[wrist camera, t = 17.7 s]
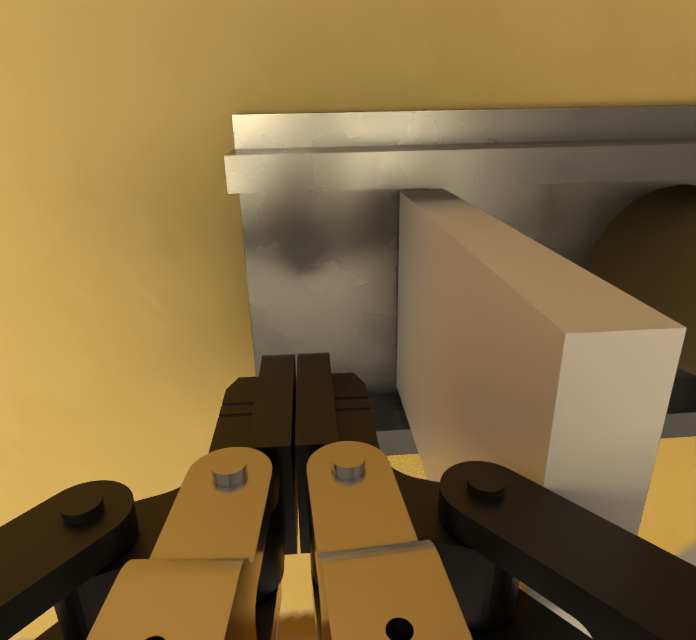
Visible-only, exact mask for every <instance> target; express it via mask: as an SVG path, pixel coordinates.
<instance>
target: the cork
mask: <svg viewBox="0 0 696 640" xmlns="http://www.w3.org/2000/svg"><path fill="white" fill-rule="evenodd" d="M586 270H587V271H589V272H590V273H592V274H594V275H596V276H597V277H599V278H601V279H603V280H604V281H606V282H608V283H610V284H611V285H613V286H615V287H617V288H618V289H620V290H622V291H624V292H625V293H627V294H629V295H630V296H632V297H634V298H636V299H637V300H639V301H641V302H643V303H644V304H646V305H648V306H650V307H651V308H653V309H655V310H657V311H658V312H660V313H662V314H664V315H665V316H667V317H669V318H671V319H672V320H674V321H676V322H678V323H679V324H681V325H683V326H685V327H686V333H685V337H684V341H683V345H682V350H681V354H680V358H679V362H678V366H677V367H678V368H680V369H682V370H685V371H687V372H689V373H691V374H693V375H695V376H696V185H690V184H683V185H677V186H671V187H665V188H659V189H657V190H655V191H653V192H651V193H649V194H647V195H645V196H643V197H641V198H639V199H637V200H635V201H633V202H632V203H630V204H629V205H628V206H627V207H626V208H625V209H624V210H623V211H621V212H620V213H619V214H618V215H617V216H616V217H615V218H613V219H612V220H611V221H610V222H609V224H608V225H607V227H606V228H605V230H604V231H603V233H602V234H601V236H600V237H599V239H598V240H597V242H596V243H595V245H594V247H593V250H592V253H591V256H590V259H589V262H588V265H587V268H586Z"/></svg>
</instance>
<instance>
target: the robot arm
mask: <svg viewBox="0 0 696 640" xmlns="http://www.w3.org/2000/svg"><path fill="white" fill-rule="evenodd" d="M298 511H299V529H300V547H301V553H310V556H311V577H312V596H313V605H314V615H315V624H316V634H317V640H696V567H695V566H694V565H692V564H690V563H688V562H686V561H684V560H682V559H680V558H678V557H676V556H675V555H673V554H671V553H669V552H667V551H665V550H663V549H661V548H659V547H657V546H655V545H654V544H652V543H650V542H648V541H646V540H644V539H642V538H640V537H638V536H636V535H634V534H633V533H631V532H629V531H627V530H625V529H623V528H621V527H619V526H617V525H615V524H613V523H612V522H610V521H608V520H606V519H604V518H602V517H600V516H598V515H596V514H594V513H592V512H591V511H589V510H587V509H585V508H583V507H581V506H579V505H577V504H575V503H573V502H571V501H570V500H568V499H566V498H564V497H562V496H560V495H558V494H556V493H554V492H552V491H550V490H549V489H547V488H545V487H543V486H541V485H539V484H537V483H535V482H533V481H531V480H529V479H528V478H526V477H524V476H522V475H520V474H518V473H516V472H514V471H512V470H510V469H508V468H506V467H504V466H501V465H498V464H495V463H491V462H485V461H466V462H461V463H458V464H455V465H453V466H451V467H450V468H448V469H447V470H446V471H445V472H444V473H443V475H442V477H441V479H440V482H436V481H430V480H424V479H419V478H414V477H411V476H408V475H405V474H403V473H401V472H399V471H397V470H395V469H394V468H392V467H391V465H390V462H389V460H388V458H387V456H386V455H385V454H384V453H383V452H382V451H381V450H380V448H379V443H378V438H377V434H376V429H375V425H374V420H373V416H372V411H371V407H370V402H369V399H368V393H367V389H366V384H365V383H364V382H363V381H362V380H361V379H360V378H359V377H358V376H357V375H356V374H355V373H354V372H353V373H331V364H330V355H329V352H325V353H301V354H297V380H296V361H295V354H279V355H262V360H261V366H260V372H259V377H241V378H238V379H237V380H236V381H235V382H234V383H233V384H232V385H231V386H230V387H228V388H227V389H226V392H225V395H224V399H223V403H222V406H221V410H220V414H219V418H218V421H217V424H216V428H215V432H214V435H213V439H212V442H211V446H210V450H209V453H208V454H206V455H204V456H203V457H201V458H200V459H198V460H197V461H196V462H195V463H193V465H192V466H191V467H190V468H189V470H188V472H187V474H186V476H185V478H184V481H183V483H182V485H181V487H179V488H177V489H175V490H172V491H170V492H167V493H164V494H161V495H157V496H153V497H150V498H146V499H143V500H139V501H135V502H134V498H133V495H132V492H131V491H130V489H129V488H128V487H127V486H125V485H124V484H121V483H119V482H115V481H108V480H100V481H91V482H86V483H82V484H79V485H76V486H73V487H70V488H68V489H66V490H64V491H62V492H60V493H58V494H56V495H54V496H53V497H51V498H49V499H48V500H46V501H44V502H42V503H41V504H39V505H37V506H36V507H34V508H32V509H30V510H29V511H27V512H25V513H24V514H22V515H20V516H18V517H17V518H15V519H13V520H12V521H10V522H8V523H6V524H5V525H3V526H1V527H0V640H8V639H10V638H11V637H12V636H14V635H15V634H16V633H18V632H19V631H20V630H22V629H23V628H24V627H26V626H27V625H28V624H30V623H31V622H32V621H34V620H35V619H36V618H38V617H39V616H41V615H42V614H43V613H45V612H46V611H47V610H49V609H50V608H51V607H53V606H54V608H55V611H56V614H57V618H58V622H57V623H55V624H54V625H53V626H52V627H50V628H49V629H48V630H46V631H45V632H44V633H43V634H41V635H40V636H39V637H37V638H36V639H35V640H276V634H277V626H278V619H279V612H280V604H281V597H282V587H281V580H282V577H283V573H284V556H285V555H288V554H297V535H298ZM520 581H521V582H522V583H524V584H525V585H526V586H528V587H529V588H531V589H532V590H534V591H535V592H537V593H538V594H540V595H541V596H543V597H544V598H546V599H547V600H549V601H550V602H552V603H553V604H555V605H556V606H557V607H559V608H560V609H562V610H563V611H565V612H566V613H568V614H569V615H571V616H572V617H574V618H575V619H576V620H578V621H579V622H580V623H581V624H582V625H583V626H584V627H585V628H586V630H587V631H588V632H589V634H590V635H591V637H592V638H593V639H592V638H591V637H589V636H588V635H586V634H585V633H583V632H582V631H581V630H579V629H578V628H576V627H575V626H573V625H572V624H570V623H569V622H567V621H566V620H565V619H563V618H562V617H560V616H559V615H557V614H556V613H554V612H553V611H552V610H550V609H549V608H547V607H546V606H544V605H543V604H541V603H540V602H538V601H537V600H536V599H534V598H533V597H531V596H530V595H528V594H527V593H525V592H524V591H522V590H521V589H520V588H519V582H520Z"/></svg>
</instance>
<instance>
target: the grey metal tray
mask: <svg viewBox="0 0 696 640" xmlns="http://www.w3.org/2000/svg"><path fill="white" fill-rule="evenodd" d="M232 122H233V133H234V143H235V150H233V151H231V152H229V153H228V154H226V155H224V163H225V173H226V183H227V192H228V194H233V193H239V197H240V207H241V218H242V229H243V240H244V250H245V261H246V272H247V282H248V293H249V304H250V314H251V325H252V336H253V347H254V357H255V368H256V377H259V372H260V366H261V360H262V355H279V354H295V361H296V380H297V354H301V353H325V352H329V355H330V364H331V373H353V372H354V373H355V374H356V375H357V376H358V377H359V378H360V379H361V380H362V381H363V382H364V383H365V384H366V389H367V393H368V399H369V402H370V407H371V411H372V416H373V420H374V425H375V429H376V434H377V438H378V443H379V448H380V450H381V451H382V452H383V453H384V454H385V455H386V456H387V455H403V454H419V453H418V450H417V447H416V444H415V441H414V438H413V435H412V432H411V429H410V426H409V423H408V420H407V417H406V414H405V411H404V408H403V405H402V402H401V399H400V395H399V392H398V389H397V386H396V381H397V323H398V266H399V208H400V191H410V190H443V189H445V190H447V191H449V192H451V193H452V194H454V195H456V196H458V197H459V198H461V199H463V200H465V201H466V202H468V203H470V204H472V205H473V206H475V207H477V208H479V209H480V210H482V211H484V212H486V213H487V214H489V215H491V216H493V217H494V218H496V219H498V220H500V221H501V222H503V223H505V224H507V225H508V226H510V227H512V228H514V229H515V230H517V231H519V232H520V233H522V234H524V235H526V236H527V237H529V238H531V239H533V240H534V241H536V242H538V243H540V244H541V245H543V246H545V247H547V248H548V249H550V250H552V251H554V252H555V253H557V254H559V255H561V256H562V257H564V258H566V259H568V260H569V261H571V262H573V263H575V264H576V265H578V266H580V267H582V268H583V269H585V270H586V268H587V265H588V262H589V259H590V256H591V253H592V250H593V247H594V245H595V243H596V242H597V240H598V239H599V237H600V236H601V234H602V233H603V231H604V230H605V228H606V227H607V225H608V224H609V222H610V221H611V220H612V219H613V218H615V217H616V216H617V215H618V214H619V213H620V212H621V211H623V210H624V209H625V208H626V207H627V206H628V205H629V204H630V203H632V202H633V201H635V200H637V199H639V198H641V197H643V196H645V195H647V194H649V193H651V192H653V191H655V190H657V189H659V188H665V187H671V186H677V185H683V184H690V185H696V105H675V106H626V107H578V108H529V109H481V110H432V111H384V112H335V113H287V114H238V115H232ZM691 436H696V376H695V375H693V374H691V373H689V372H687V371H685V370H682V369H680V368H678V367H677V371H676V375H675V379H674V383H673V387H672V392H671V396H670V400H669V404H668V408H667V413H666V417H665V421H664V425H663V430H662V434H661V438H675V437H691Z"/></svg>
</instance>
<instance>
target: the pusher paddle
mask: <svg viewBox="0 0 696 640" xmlns="http://www.w3.org/2000/svg"><path fill="white" fill-rule="evenodd" d="M685 333H686V327H685V326H683V325H681V324H679V323H678V322H676V321H674V320H672V319H671V318H669V317H667V316H665V315H664V314H662V313H660V312H658V311H657V310H655V309H653V308H651V307H650V306H648V305H646V304H644V303H643V302H641V301H639V300H637V299H636V298H634V297H632V296H630V295H629V294H627V293H625V292H624V291H622V290H620V289H618V288H617V287H615V286H613V285H611V284H610V283H608V282H606V281H604V280H603V279H601V278H599V277H597V276H596V275H594V274H592V273H590V272H589V271H587V270H585V269H583V268H582V267H580V266H578V265H576V264H575V263H573V262H571V261H569V260H568V259H566V258H564V257H562V256H561V255H559V254H557V253H555V252H554V251H552V250H550V249H548V248H547V247H545V246H543V245H541V244H540V243H538V242H536V241H534V240H533V239H531V238H529V237H527V236H526V235H524V234H522V233H520V232H519V231H517V230H515V229H514V228H512V227H510V226H508V225H507V224H505V223H503V222H501V221H500V220H498V219H496V218H494V217H493V216H491V215H489V214H487V213H486V212H484V211H482V210H480V209H479V208H477V207H475V206H473V205H472V204H470V203H468V202H466V201H465V200H463V199H461V198H459V197H458V196H456V195H454V194H452V193H451V192H449V191H447V190H445V189H443V190H410V191H400V208H399V266H398V323H397V381H396V386H397V389H398V392H399V395H400V399H401V402H402V405H403V408H404V411H405V414H406V417H407V420H408V423H409V426H410V429H411V432H412V435H413V438H414V441H415V444H416V447H417V450H418V453H419V456H420V459H421V462H422V465H423V468H424V471H425V474H426V477H427V480H430V481H436V482H440V479H441V477H442V475H443V473H444V472H445V471H446V470H447V469H448V468H450V467H451V466H453V465H455V464H458V463H461V462H466V461H485V462H491V463H495V464H498V465H501V466H504V467H506V468H508V469H510V470H512V471H514V472H516V473H518V474H520V475H522V476H524V477H526V478H528V479H529V480H531V481H533V482H535V483H537V484H539V485H541V486H543V487H545V488H547V489H549V490H550V491H552V492H554V493H556V494H558V495H560V496H562V497H564V498H566V499H568V500H570V501H571V502H573V503H575V504H577V505H579V506H581V507H583V508H585V509H587V510H589V511H591V512H592V513H594V514H596V515H598V516H600V517H602V518H604V519H606V520H608V521H610V522H612V523H613V524H615V525H617V526H619V527H621V528H623V529H625V530H627V531H629V532H631V533H633V534H634V535H636V536H637V535H638V531H639V526H640V522H641V518H642V514H643V510H644V505H645V501H646V497H647V493H648V489H649V484H650V480H651V476H652V472H653V467H654V463H655V459H656V455H657V451H658V446H659V442H660V438H661V434H662V430H663V425H664V421H665V417H666V413H667V408H668V404H669V400H670V396H671V392H672V387H673V383H674V379H675V375H676V371H677V366H678V362H679V358H680V354H681V350H682V345H683V341H684V337H685ZM519 588H520V589H521V590H522V591H524V592H525V593H527V594H528V595H530V596H531V597H533V598H534V599H536V600H537V601H538V602H540V603H541V604H543V605H544V606H546V607H547V608H549V609H550V610H552V611H553V612H554V613H556V614H557V615H559V616H560V617H562V618H563V619H565V620H566V621H567V622H569V623H570V624H572V625H573V626H575V627H576V628H578V629H579V630H581V631H582V632H583V633H585V634H586V635H588V636H589V637H591V635H590V634H589V632H588V631H587V630H586V628H585V627H584V626H583V625H582V624H581V623H580V622H579V621H578V620H576V619H575V618H574V617H572V616H571V615H569V614H568V613H566V612H565V611H563V610H562V609H560V608H559V607H557V606H556V605H555V604H553V603H552V602H550V601H549V600H547V599H546V598H544V597H543V596H541V595H540V594H538V593H537V592H535V591H534V590H532V589H531V588H529V587H528V586H526V585H525V584H524V583H522V582H521V581H520V582H519ZM591 638H592V637H591ZM592 639H593V638H592Z"/></svg>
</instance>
